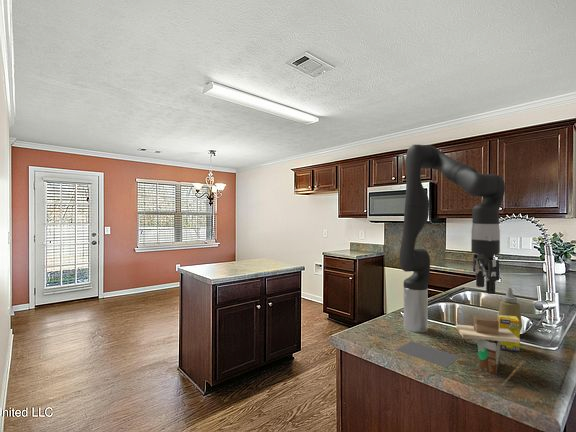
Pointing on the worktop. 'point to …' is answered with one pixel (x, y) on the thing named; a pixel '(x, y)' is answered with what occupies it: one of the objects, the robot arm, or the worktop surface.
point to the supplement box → (513, 326)
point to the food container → (489, 355)
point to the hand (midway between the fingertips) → (485, 290)
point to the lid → (487, 330)
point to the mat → (428, 354)
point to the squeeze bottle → (510, 306)
